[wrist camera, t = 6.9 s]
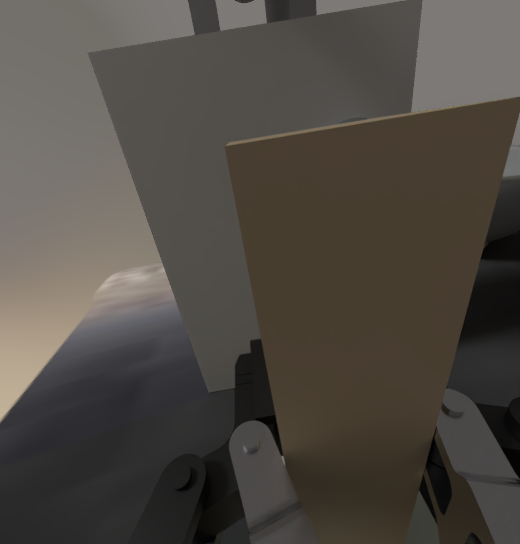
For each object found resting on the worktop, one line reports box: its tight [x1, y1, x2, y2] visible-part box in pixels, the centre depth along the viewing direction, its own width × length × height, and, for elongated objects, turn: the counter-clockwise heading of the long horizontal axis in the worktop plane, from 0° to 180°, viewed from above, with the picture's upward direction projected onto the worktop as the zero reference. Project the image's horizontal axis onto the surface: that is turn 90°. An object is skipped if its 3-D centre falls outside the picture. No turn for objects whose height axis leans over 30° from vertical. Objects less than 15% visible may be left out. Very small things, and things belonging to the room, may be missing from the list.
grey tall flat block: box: [88, 0, 422, 393], centre depth 20 cm, size 9×16×31 cm, turn 95°
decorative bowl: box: [484, 145, 520, 248], centre depth 41 cm, size 27×27×12 cm
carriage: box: [225, 97, 520, 544], centre depth 10 cm, size 9×8×19 cm
